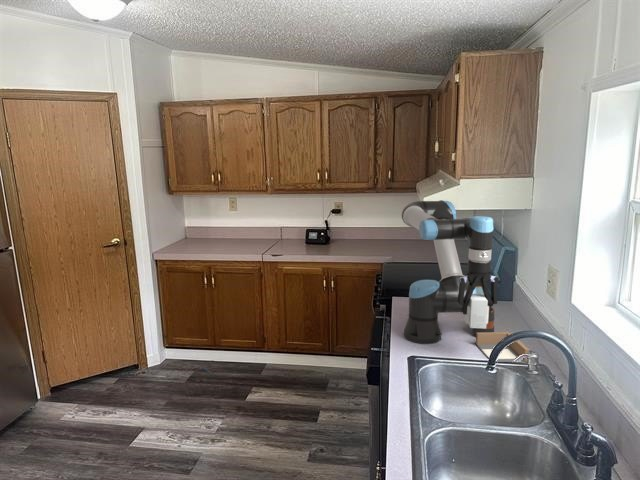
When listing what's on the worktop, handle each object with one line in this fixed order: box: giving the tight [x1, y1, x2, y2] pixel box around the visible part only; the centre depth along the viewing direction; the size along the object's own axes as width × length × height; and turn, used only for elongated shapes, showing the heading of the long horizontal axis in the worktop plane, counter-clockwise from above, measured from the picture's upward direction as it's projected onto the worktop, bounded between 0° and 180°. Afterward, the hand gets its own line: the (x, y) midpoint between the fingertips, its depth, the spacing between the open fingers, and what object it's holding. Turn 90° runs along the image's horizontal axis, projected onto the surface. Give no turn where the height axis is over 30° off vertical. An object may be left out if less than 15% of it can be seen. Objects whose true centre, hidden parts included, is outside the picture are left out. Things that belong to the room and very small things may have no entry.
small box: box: [468, 294, 488, 329], centre depth 154 cm, size 8×6×10 cm
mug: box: [471, 306, 495, 338], centre depth 178 cm, size 9×12×12 cm
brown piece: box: [475, 331, 530, 364], centre depth 160 cm, size 13×16×5 cm
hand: (476, 322), depth 155 cm, fingers closed on small box, 6 cm apart
